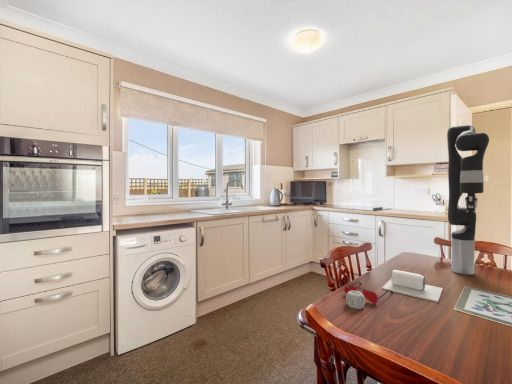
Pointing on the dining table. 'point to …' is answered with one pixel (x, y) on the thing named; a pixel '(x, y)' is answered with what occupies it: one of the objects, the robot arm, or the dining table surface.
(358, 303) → the die
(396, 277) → the can
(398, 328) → the dining table surface
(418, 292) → the mat
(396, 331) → the dining table surface
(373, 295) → the glasses
